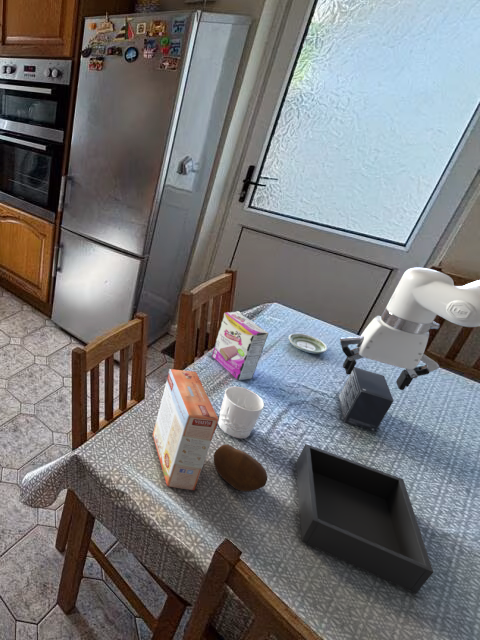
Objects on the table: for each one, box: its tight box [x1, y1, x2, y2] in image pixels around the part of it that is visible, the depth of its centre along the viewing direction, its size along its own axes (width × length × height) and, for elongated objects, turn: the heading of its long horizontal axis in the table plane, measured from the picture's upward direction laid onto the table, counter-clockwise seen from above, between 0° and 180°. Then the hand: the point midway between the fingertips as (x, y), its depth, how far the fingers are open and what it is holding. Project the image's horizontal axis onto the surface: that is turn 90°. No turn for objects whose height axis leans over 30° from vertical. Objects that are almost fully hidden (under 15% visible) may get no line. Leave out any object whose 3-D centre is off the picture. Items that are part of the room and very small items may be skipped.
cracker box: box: [152, 368, 219, 491], centre depth 89 cm, size 14×6×21 cm, turn 170°
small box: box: [338, 366, 395, 432], centre depth 103 cm, size 11×6×10 cm, turn 147°
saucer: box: [288, 332, 328, 354], centre depth 128 cm, size 10×10×2 cm
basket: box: [295, 443, 434, 595], centre depth 79 cm, size 16×20×7 cm
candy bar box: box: [211, 310, 269, 381], centre depth 118 cm, size 11×5×16 cm, turn 9°
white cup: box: [217, 385, 265, 439], centre depth 99 cm, size 8×8×10 cm
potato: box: [213, 443, 268, 492], centre depth 87 cm, size 7×10×8 cm
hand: (372, 378), depth 100 cm, fingers open, 9 cm apart
